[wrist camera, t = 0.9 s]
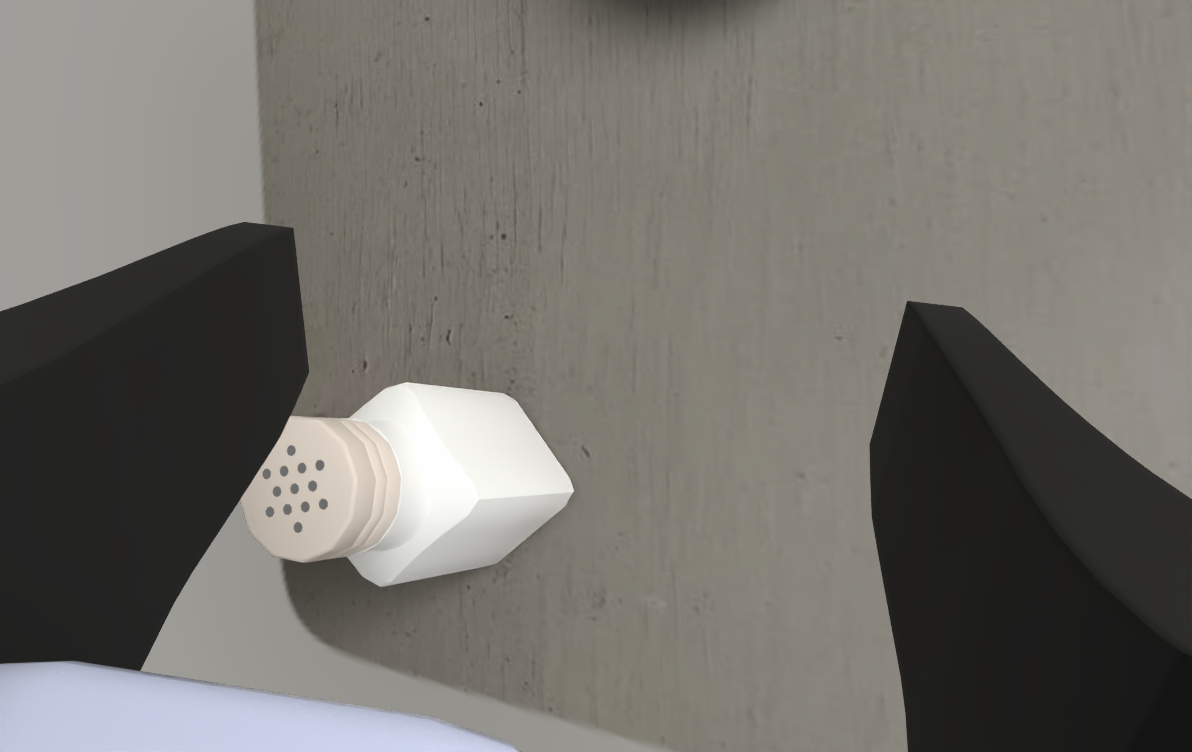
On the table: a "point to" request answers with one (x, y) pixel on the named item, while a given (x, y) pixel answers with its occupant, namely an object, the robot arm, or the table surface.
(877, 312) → the table surface
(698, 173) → the table surface
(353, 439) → the salt shaker
